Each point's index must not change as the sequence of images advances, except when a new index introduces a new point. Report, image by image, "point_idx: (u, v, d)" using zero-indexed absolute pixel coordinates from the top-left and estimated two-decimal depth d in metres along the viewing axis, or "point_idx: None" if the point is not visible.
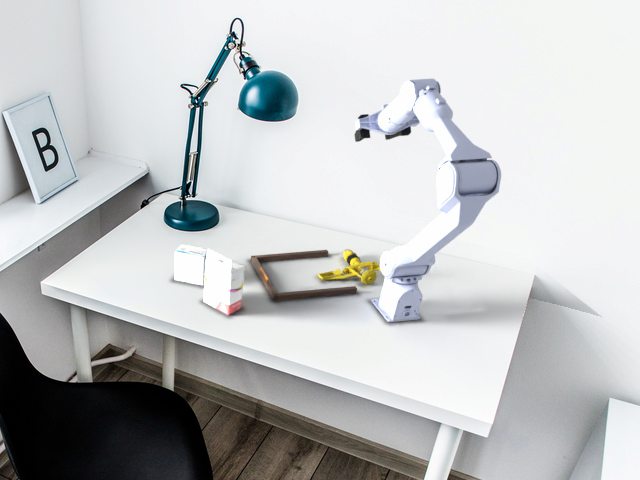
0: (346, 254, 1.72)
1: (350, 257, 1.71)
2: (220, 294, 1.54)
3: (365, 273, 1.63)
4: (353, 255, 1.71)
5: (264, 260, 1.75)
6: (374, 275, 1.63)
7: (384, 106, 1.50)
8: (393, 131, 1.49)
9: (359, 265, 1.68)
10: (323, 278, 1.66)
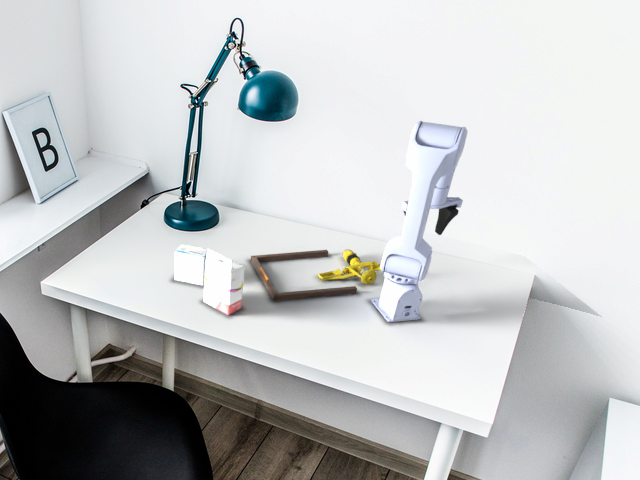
0: (346, 254, 1.72)
1: (350, 257, 1.71)
2: (220, 294, 1.54)
3: (365, 273, 1.63)
4: (353, 255, 1.71)
5: (264, 260, 1.75)
6: (374, 275, 1.63)
7: None
8: (440, 203, 1.58)
9: (359, 265, 1.68)
10: (323, 278, 1.66)
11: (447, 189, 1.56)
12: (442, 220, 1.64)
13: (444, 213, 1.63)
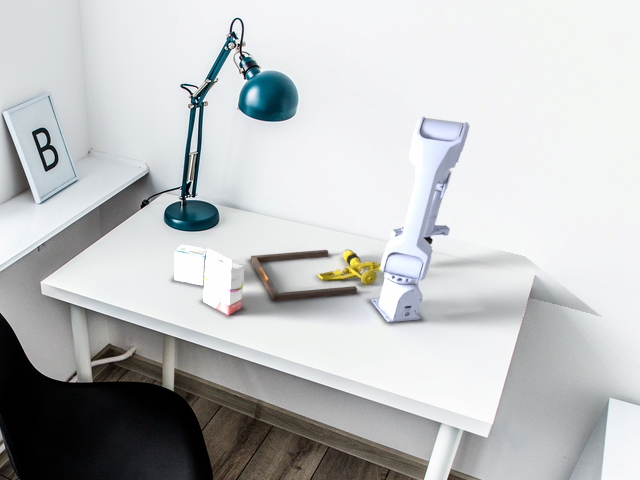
0: (346, 254, 1.72)
1: (350, 257, 1.71)
2: (220, 294, 1.54)
3: (365, 273, 1.63)
4: (353, 255, 1.71)
5: (264, 260, 1.75)
6: (374, 275, 1.63)
7: None
8: (428, 231, 1.62)
9: (359, 265, 1.68)
10: (323, 278, 1.66)
11: (434, 218, 1.61)
12: None
13: None
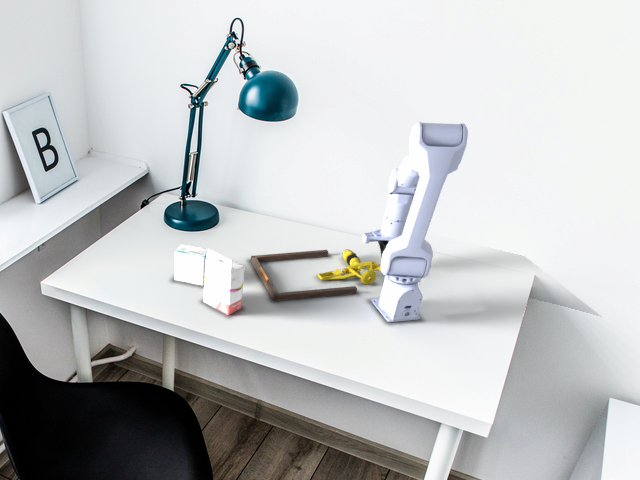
0: (346, 254, 1.72)
1: (350, 257, 1.71)
2: (220, 294, 1.54)
3: (365, 273, 1.63)
4: (353, 255, 1.71)
5: (264, 260, 1.75)
6: (374, 275, 1.63)
7: None
8: (399, 235, 1.62)
9: (359, 265, 1.68)
10: (323, 278, 1.66)
11: (405, 222, 1.60)
12: None
13: None
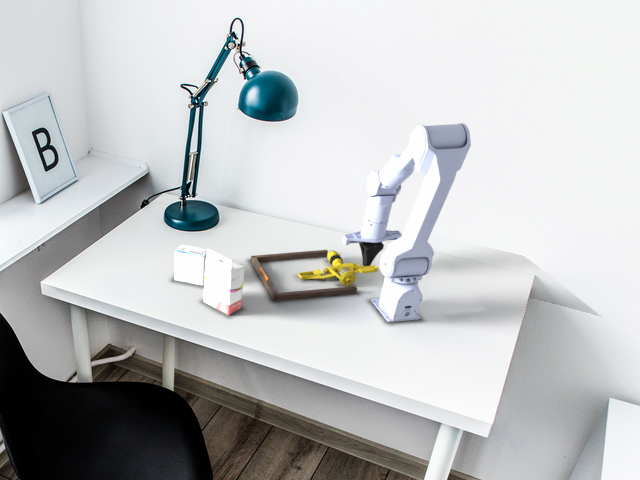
0: (330, 255, 1.72)
1: (333, 258, 1.70)
2: (220, 294, 1.54)
3: (343, 274, 1.63)
4: (336, 256, 1.70)
5: (264, 260, 1.75)
6: (353, 276, 1.63)
7: None
8: (379, 237, 1.61)
9: (340, 266, 1.67)
10: (302, 277, 1.67)
11: (385, 224, 1.60)
12: None
13: None
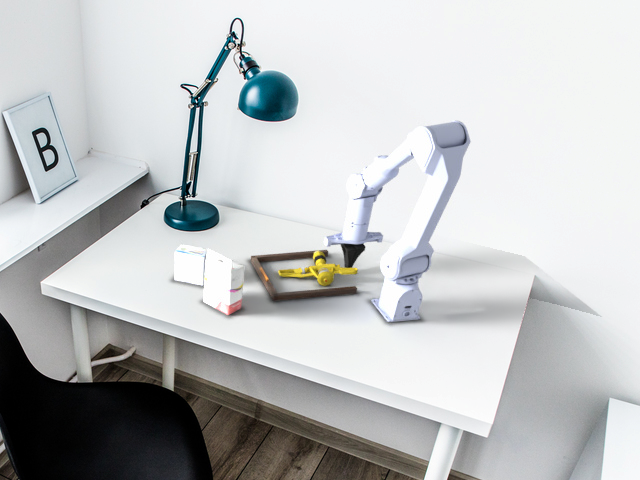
0: (315, 255, 1.73)
1: (316, 258, 1.71)
2: (220, 294, 1.54)
3: (321, 274, 1.63)
4: (320, 256, 1.71)
5: (264, 260, 1.75)
6: (330, 277, 1.63)
7: None
8: (360, 238, 1.61)
9: (321, 266, 1.68)
10: (281, 274, 1.68)
11: (366, 225, 1.59)
12: None
13: None
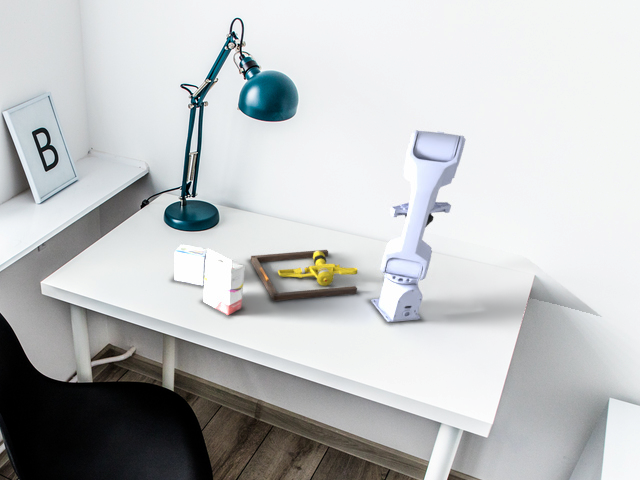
0: (314, 254, 1.73)
1: (316, 258, 1.71)
2: (220, 294, 1.54)
3: (320, 274, 1.63)
4: (319, 256, 1.71)
5: (264, 260, 1.75)
6: (330, 277, 1.63)
7: None
8: None
9: (321, 266, 1.68)
10: (281, 274, 1.68)
11: (435, 194, 1.54)
12: None
13: None
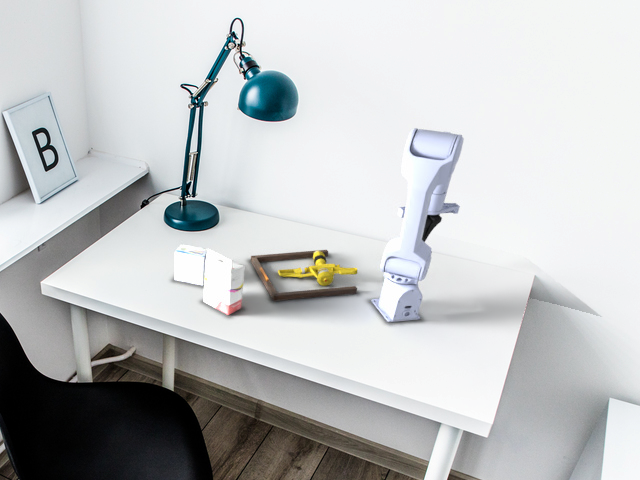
0: (314, 254, 1.73)
1: (316, 258, 1.71)
2: (220, 294, 1.54)
3: (320, 274, 1.63)
4: (319, 256, 1.71)
5: (264, 260, 1.75)
6: (330, 277, 1.63)
7: None
8: (437, 209, 1.55)
9: (321, 266, 1.68)
10: (281, 274, 1.68)
11: (444, 195, 1.54)
12: None
13: None
